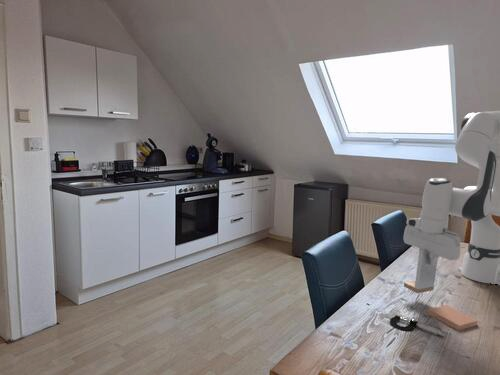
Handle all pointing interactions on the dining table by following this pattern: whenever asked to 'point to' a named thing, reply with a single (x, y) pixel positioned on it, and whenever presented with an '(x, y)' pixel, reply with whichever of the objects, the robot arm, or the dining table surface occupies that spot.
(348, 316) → the dining table surface
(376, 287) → the dining table surface
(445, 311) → the tile
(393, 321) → the micrometer
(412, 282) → the bookend
